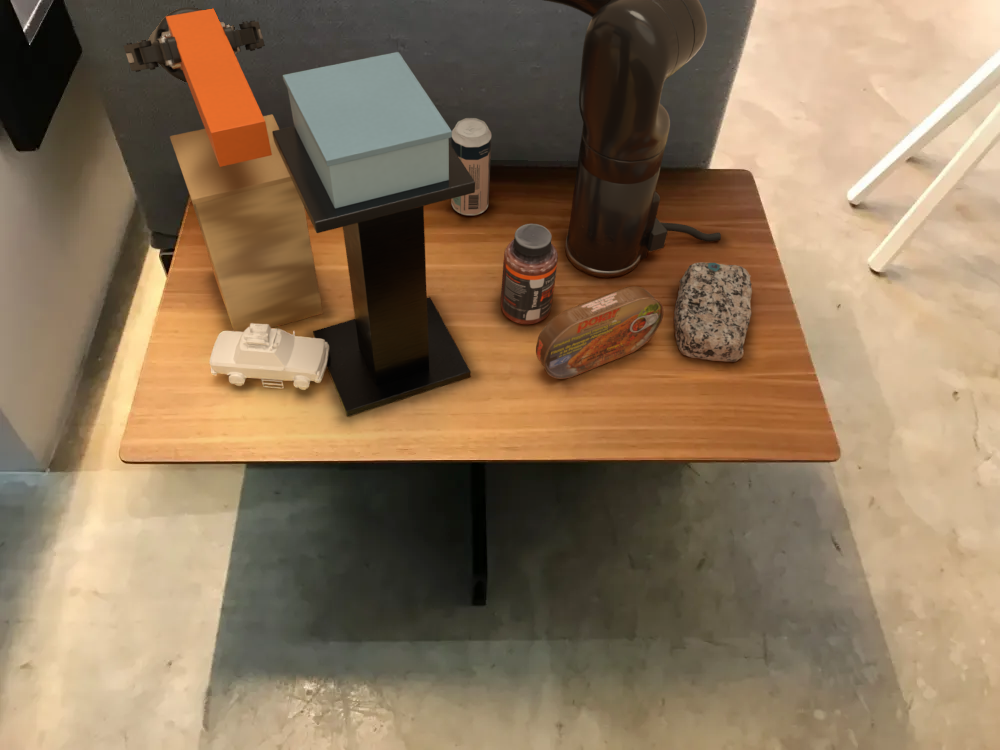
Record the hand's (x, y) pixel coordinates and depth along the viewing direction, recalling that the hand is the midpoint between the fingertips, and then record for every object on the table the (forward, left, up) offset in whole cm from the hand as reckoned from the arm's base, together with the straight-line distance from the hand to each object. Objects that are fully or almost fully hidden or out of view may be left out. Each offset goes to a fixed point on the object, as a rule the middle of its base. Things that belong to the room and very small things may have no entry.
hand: (203, 44), depth 78 cm
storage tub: (-10, +17, -3) cm, 20 cm away
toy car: (+2, +15, -30) cm, 33 cm away
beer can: (-28, -2, -30) cm, 41 cm away
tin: (-31, +26, -30) cm, 50 cm away
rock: (-46, +27, -30) cm, 61 cm away
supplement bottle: (-27, +17, -30) cm, 44 cm away
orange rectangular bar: (0, +4, -3) cm, 5 cm away
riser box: (0, +4, -30) cm, 30 cm away
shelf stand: (-10, +18, -30) cm, 36 cm away
